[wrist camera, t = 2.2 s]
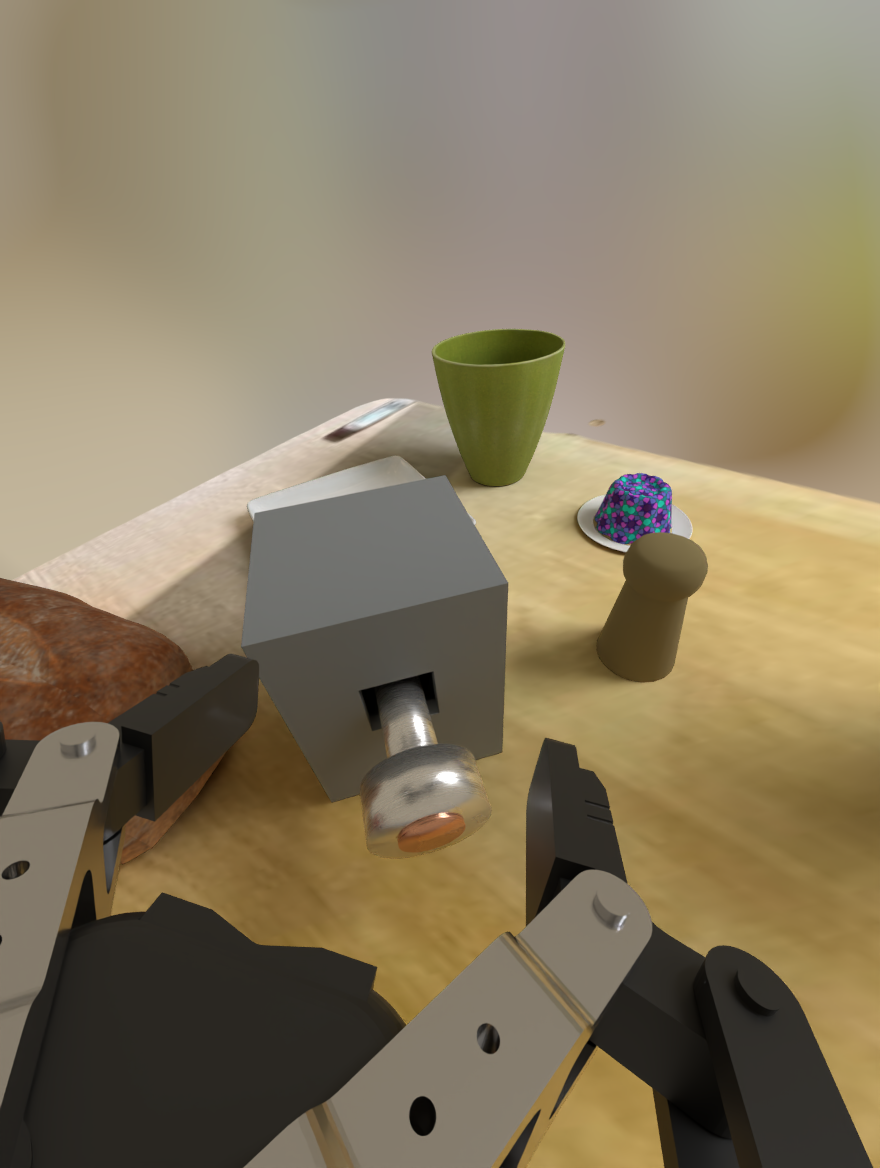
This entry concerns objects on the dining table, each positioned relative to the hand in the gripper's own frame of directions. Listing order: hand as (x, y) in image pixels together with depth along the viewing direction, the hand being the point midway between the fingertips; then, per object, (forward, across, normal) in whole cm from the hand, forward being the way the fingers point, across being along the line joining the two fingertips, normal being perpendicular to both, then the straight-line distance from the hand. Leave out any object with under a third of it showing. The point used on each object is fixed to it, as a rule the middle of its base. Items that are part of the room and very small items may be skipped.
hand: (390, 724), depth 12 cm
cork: (+26, -14, +7) cm, 31 cm away
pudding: (+43, -15, -2) cm, 46 cm away
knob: (+10, 0, +10) cm, 14 cm away
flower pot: (+53, +2, -4) cm, 53 cm away
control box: (+20, +3, +12) cm, 23 cm away
